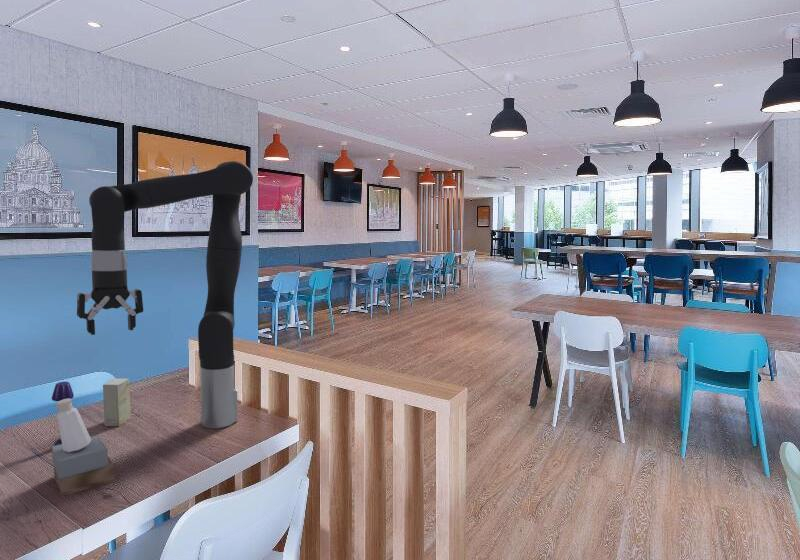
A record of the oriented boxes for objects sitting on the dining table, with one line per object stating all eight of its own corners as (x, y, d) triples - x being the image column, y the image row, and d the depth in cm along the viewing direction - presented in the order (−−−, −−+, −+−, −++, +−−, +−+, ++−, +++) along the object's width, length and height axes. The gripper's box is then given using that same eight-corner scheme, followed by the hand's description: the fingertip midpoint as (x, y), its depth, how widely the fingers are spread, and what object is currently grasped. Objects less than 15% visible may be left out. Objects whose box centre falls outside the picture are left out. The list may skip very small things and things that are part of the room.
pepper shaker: (79, 451, 107) (64, 405, 104) (57, 453, 107) (42, 407, 105) (97, 438, 112) (83, 394, 109) (76, 440, 113) (61, 396, 110)
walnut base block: (104, 465, 118) (104, 449, 118) (114, 482, 111) (114, 465, 110) (54, 478, 112) (53, 462, 111) (61, 497, 104) (60, 480, 104)
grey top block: (98, 451, 117) (97, 435, 116) (108, 465, 110) (107, 448, 110) (52, 463, 110) (51, 446, 110) (60, 479, 104) (59, 461, 104)
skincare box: (119, 426, 139) (117, 385, 137) (103, 426, 139) (101, 384, 137) (131, 418, 145) (130, 378, 143) (116, 417, 145) (115, 377, 144)
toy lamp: (72, 439, 130) (69, 378, 128) (78, 445, 127) (75, 383, 125) (51, 445, 126) (47, 383, 124) (57, 451, 123) (53, 387, 121)
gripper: (136, 265, 130) (138, 326, 131) (72, 268, 120) (75, 333, 122) (145, 268, 124) (147, 331, 126) (78, 270, 114) (81, 338, 116)
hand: (112, 332), depth 124 cm, fingers open, 8 cm apart
